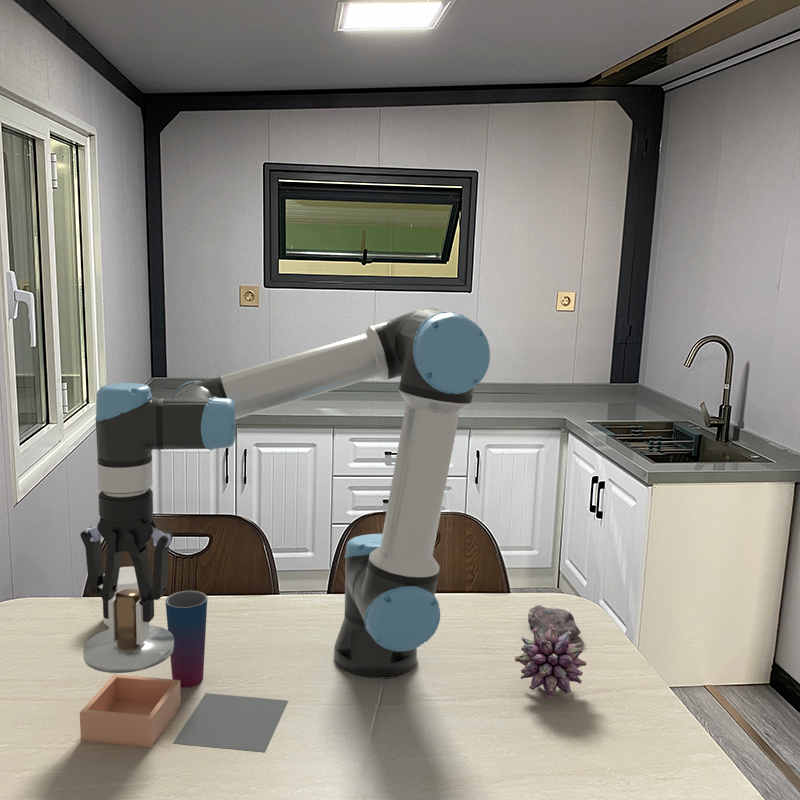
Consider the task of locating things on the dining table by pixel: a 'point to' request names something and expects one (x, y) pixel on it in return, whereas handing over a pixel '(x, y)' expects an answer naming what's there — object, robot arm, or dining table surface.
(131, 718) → the dish
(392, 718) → the dining table surface
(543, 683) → the flower
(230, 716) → the mat
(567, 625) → the rock
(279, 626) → the dining table surface
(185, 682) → the cup
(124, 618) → the lid
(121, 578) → the mug
